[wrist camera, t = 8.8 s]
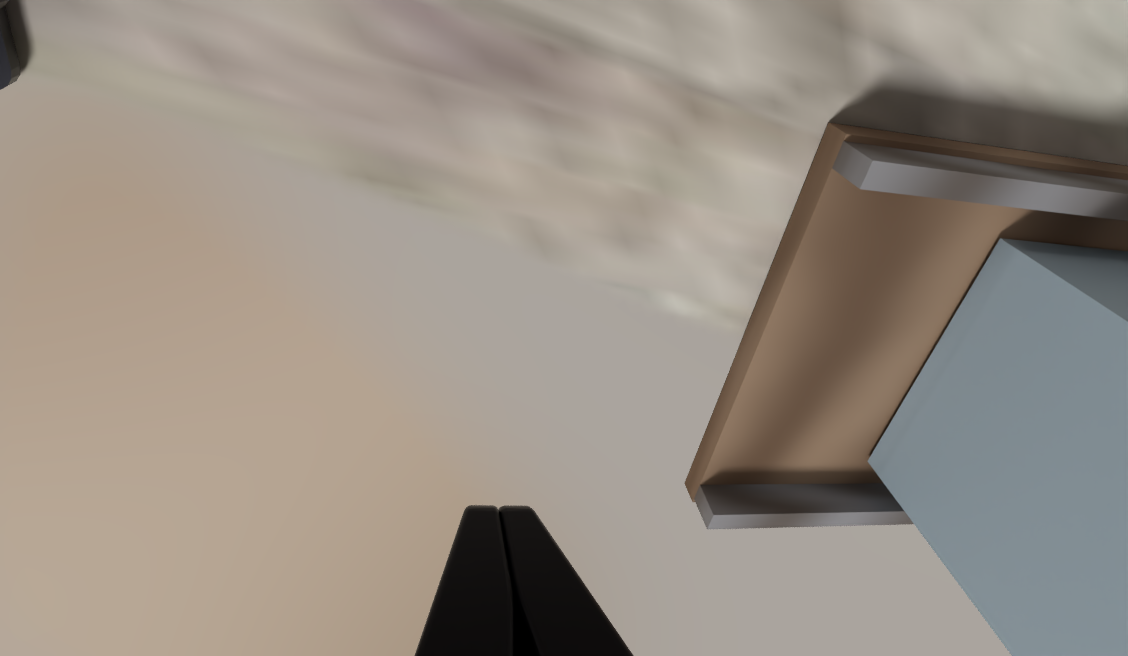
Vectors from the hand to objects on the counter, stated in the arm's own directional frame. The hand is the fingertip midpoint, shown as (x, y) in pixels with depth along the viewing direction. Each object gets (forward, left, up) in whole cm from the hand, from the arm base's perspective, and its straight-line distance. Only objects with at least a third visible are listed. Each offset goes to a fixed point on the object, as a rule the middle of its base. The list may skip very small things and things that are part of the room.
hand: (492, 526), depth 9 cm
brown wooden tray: (+19, -5, -12) cm, 23 cm away
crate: (+21, -5, -11) cm, 24 cm away
